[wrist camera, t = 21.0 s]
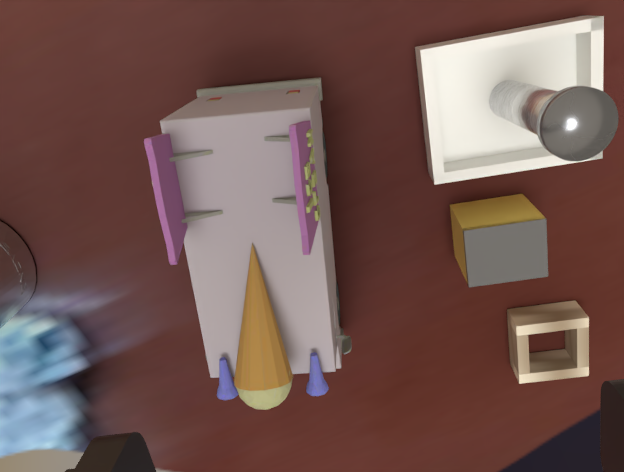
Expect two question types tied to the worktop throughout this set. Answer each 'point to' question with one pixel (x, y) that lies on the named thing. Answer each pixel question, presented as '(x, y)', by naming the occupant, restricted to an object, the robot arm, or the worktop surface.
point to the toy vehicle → (254, 233)
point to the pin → (559, 116)
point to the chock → (499, 240)
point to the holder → (556, 361)
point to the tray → (481, 81)
